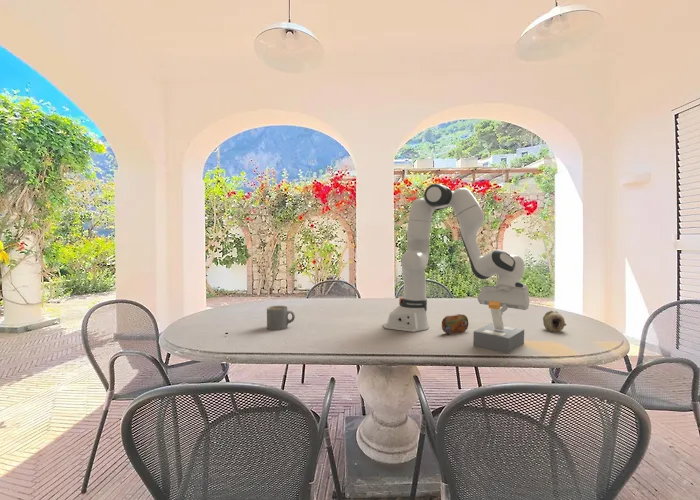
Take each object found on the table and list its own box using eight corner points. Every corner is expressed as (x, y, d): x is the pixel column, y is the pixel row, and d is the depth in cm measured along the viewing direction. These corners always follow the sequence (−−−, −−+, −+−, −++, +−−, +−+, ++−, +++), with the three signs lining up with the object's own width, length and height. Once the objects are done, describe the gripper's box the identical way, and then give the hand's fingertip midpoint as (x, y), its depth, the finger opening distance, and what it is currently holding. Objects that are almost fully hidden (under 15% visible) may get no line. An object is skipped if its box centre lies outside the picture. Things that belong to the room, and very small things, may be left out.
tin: (445, 335, 155) (445, 317, 155) (440, 333, 158) (440, 315, 157) (468, 331, 162) (469, 313, 162) (463, 329, 165) (464, 312, 164)
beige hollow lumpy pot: (543, 334, 166) (536, 313, 168) (556, 329, 169) (549, 310, 171) (559, 333, 157) (551, 312, 159) (572, 328, 160) (564, 307, 162)
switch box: (490, 336, 153) (491, 323, 153) (523, 343, 144) (524, 329, 143) (473, 345, 141) (473, 331, 140) (508, 353, 131) (508, 338, 131)
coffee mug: (264, 330, 163) (264, 309, 163) (270, 324, 173) (269, 305, 172) (292, 330, 162) (292, 309, 162) (296, 325, 172) (296, 305, 172)
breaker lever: (495, 325, 144) (490, 300, 139) (505, 327, 141) (500, 302, 136) (493, 329, 142) (488, 304, 138) (503, 331, 140) (498, 305, 135)
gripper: (480, 280, 152) (471, 305, 146) (530, 285, 138) (522, 313, 131) (484, 289, 156) (475, 314, 149) (533, 294, 141) (525, 322, 135)
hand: (497, 313), depth 140 cm, fingers closed, pressing on breaker lever
